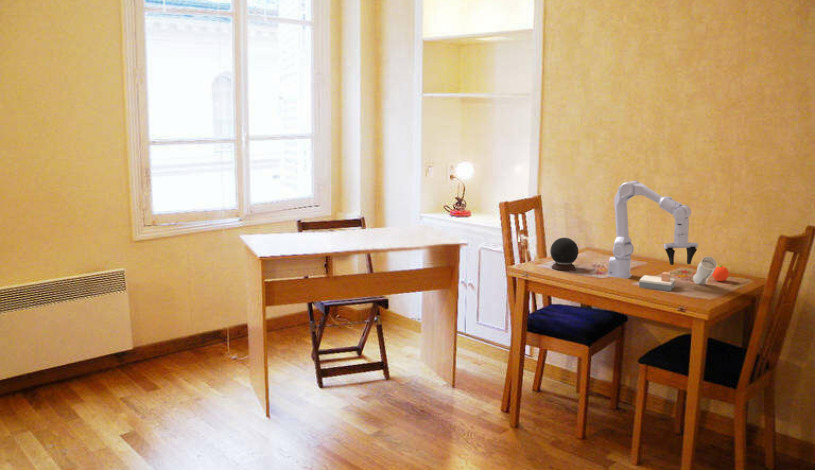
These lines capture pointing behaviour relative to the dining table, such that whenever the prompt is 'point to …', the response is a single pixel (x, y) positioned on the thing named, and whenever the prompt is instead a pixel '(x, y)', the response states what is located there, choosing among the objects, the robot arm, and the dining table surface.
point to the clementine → (720, 273)
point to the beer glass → (705, 270)
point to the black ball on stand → (564, 254)
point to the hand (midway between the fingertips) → (680, 264)
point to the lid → (658, 279)
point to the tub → (656, 286)
